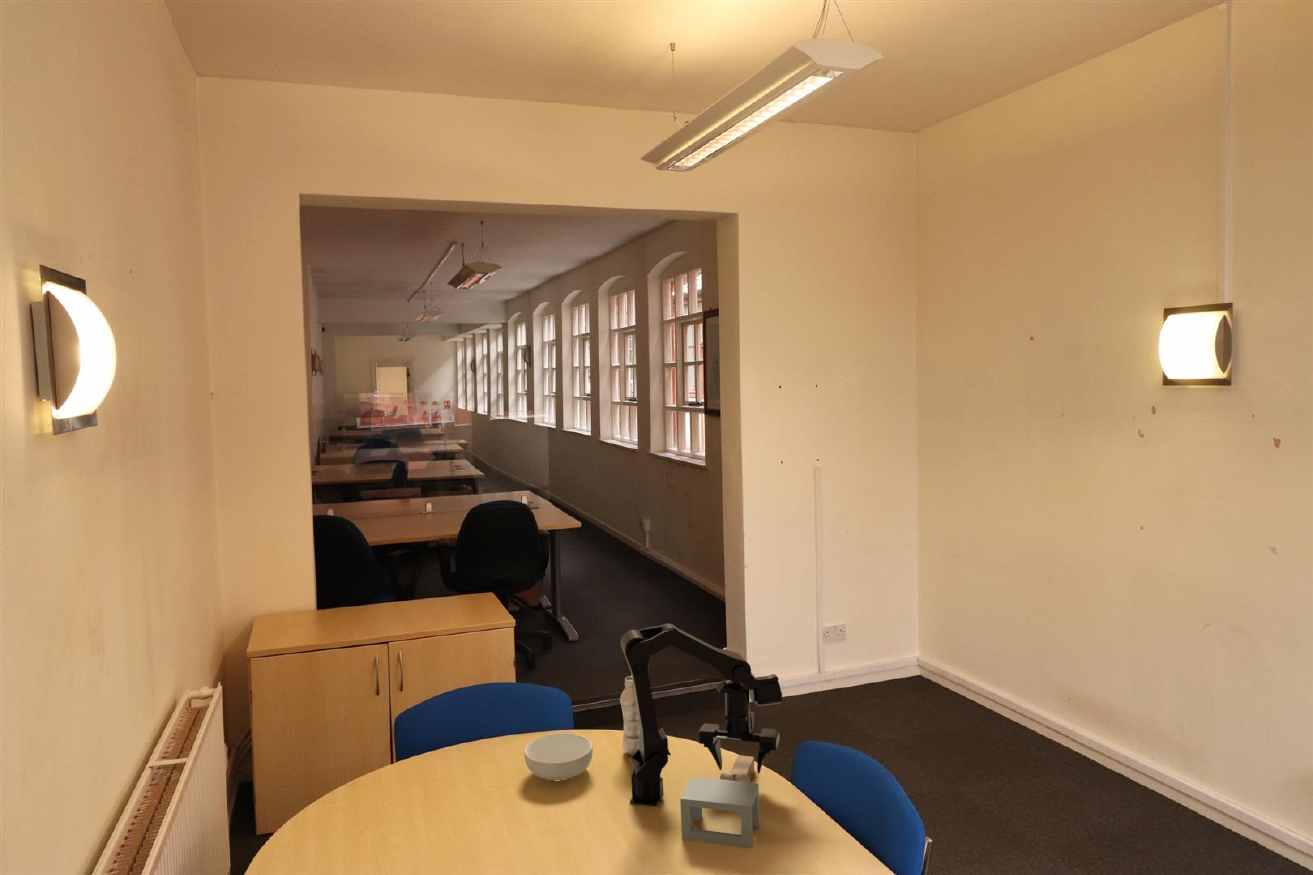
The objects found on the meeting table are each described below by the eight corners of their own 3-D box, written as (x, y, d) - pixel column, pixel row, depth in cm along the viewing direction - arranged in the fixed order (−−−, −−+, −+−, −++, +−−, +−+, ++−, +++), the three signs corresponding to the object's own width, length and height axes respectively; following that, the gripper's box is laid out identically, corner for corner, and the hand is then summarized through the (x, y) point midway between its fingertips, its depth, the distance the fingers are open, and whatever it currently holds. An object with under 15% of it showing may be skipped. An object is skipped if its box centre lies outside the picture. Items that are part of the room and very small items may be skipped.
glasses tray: (732, 768, 216) (731, 748, 216) (760, 770, 214) (759, 751, 214) (716, 804, 199) (715, 783, 198) (746, 807, 197) (745, 786, 196)
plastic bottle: (645, 758, 223) (642, 683, 221) (619, 757, 224) (616, 682, 222) (650, 747, 229) (647, 674, 227) (625, 746, 231) (622, 673, 229)
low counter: (681, 838, 185) (680, 798, 184) (693, 814, 194) (691, 776, 194) (751, 847, 181) (750, 806, 180) (759, 822, 190) (758, 783, 189)
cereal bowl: (540, 797, 205) (539, 768, 205) (516, 769, 220) (514, 742, 219) (605, 778, 214) (603, 750, 213) (577, 752, 228) (576, 726, 227)
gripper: (782, 697, 210) (783, 759, 212) (707, 692, 216) (709, 752, 217) (774, 716, 200) (776, 781, 201) (696, 709, 205) (698, 773, 207)
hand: (739, 770), depth 207 cm, fingers open, 9 cm apart
